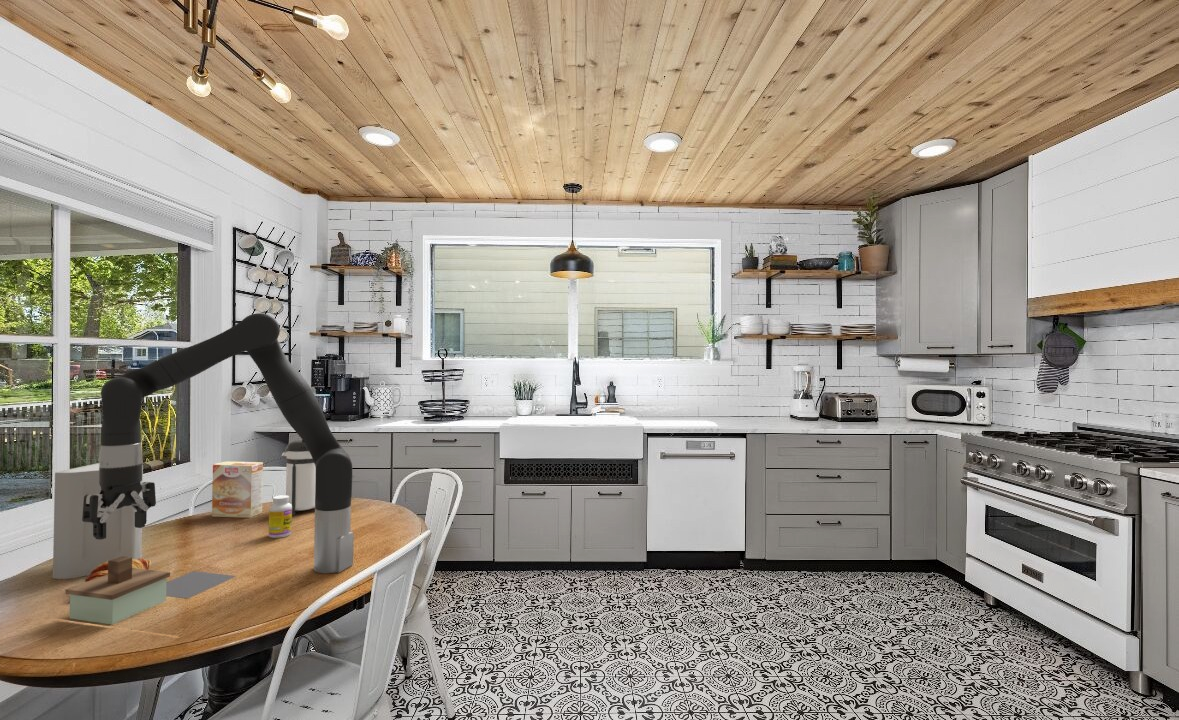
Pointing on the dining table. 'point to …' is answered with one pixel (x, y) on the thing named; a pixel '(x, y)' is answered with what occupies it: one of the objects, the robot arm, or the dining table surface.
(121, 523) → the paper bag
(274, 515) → the supplement bottle
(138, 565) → the croissant
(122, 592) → the lid
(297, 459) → the coffee press
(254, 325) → the robot arm
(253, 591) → the dining table surface
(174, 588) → the plate
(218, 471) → the coffeecake box
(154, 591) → the green box
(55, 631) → the dining table surface
